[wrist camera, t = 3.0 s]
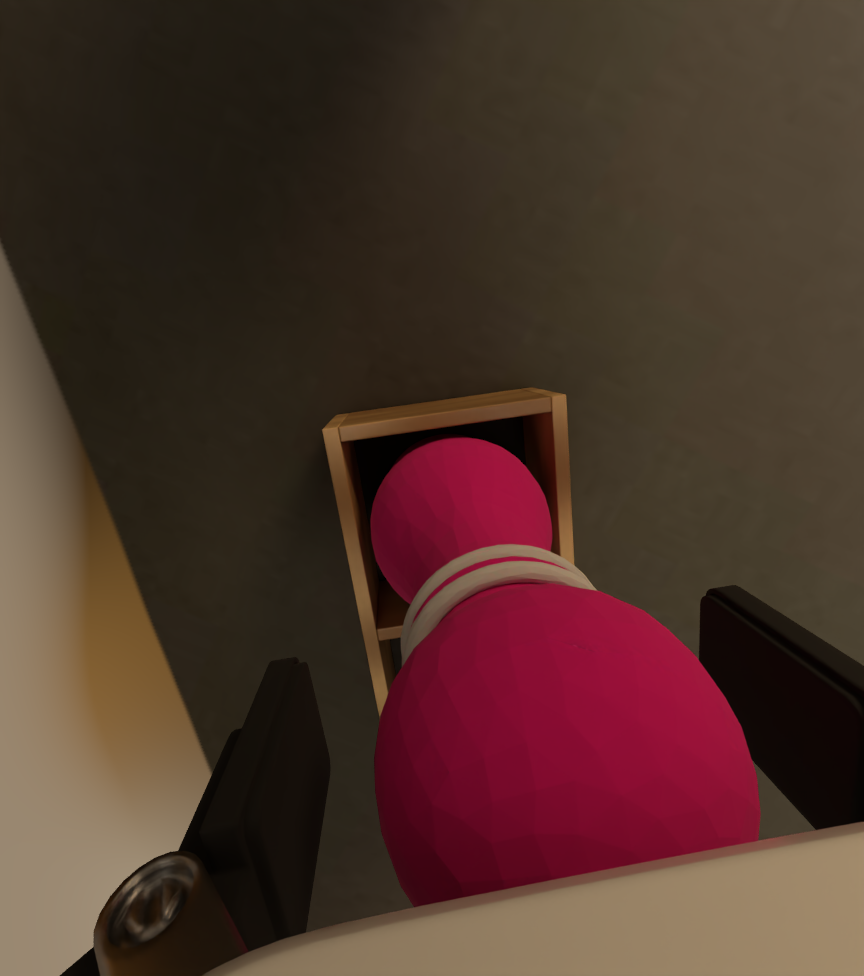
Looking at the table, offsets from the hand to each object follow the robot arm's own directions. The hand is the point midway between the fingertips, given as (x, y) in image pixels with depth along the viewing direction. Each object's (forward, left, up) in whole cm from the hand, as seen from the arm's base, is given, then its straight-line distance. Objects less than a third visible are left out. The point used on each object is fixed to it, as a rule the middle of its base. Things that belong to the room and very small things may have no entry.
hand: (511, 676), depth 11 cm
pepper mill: (0, 0, -13) cm, 13 cm away
